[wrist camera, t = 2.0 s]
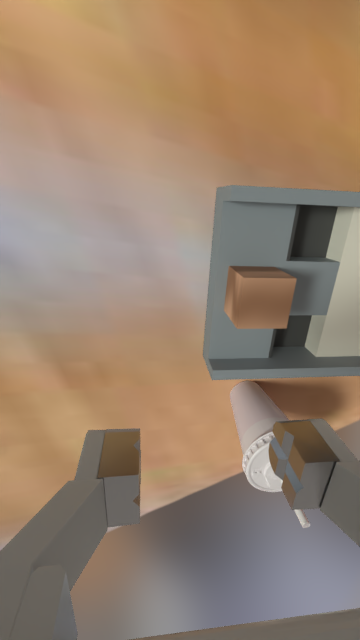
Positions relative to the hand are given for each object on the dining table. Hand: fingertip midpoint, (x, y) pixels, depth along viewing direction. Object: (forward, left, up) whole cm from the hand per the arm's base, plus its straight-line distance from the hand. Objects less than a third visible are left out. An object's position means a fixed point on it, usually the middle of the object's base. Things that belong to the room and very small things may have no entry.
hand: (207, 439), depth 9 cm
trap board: (0, +12, -19) cm, 23 cm away
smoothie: (+13, +9, -19) cm, 25 cm away
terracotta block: (0, +7, -17) cm, 18 cm away
